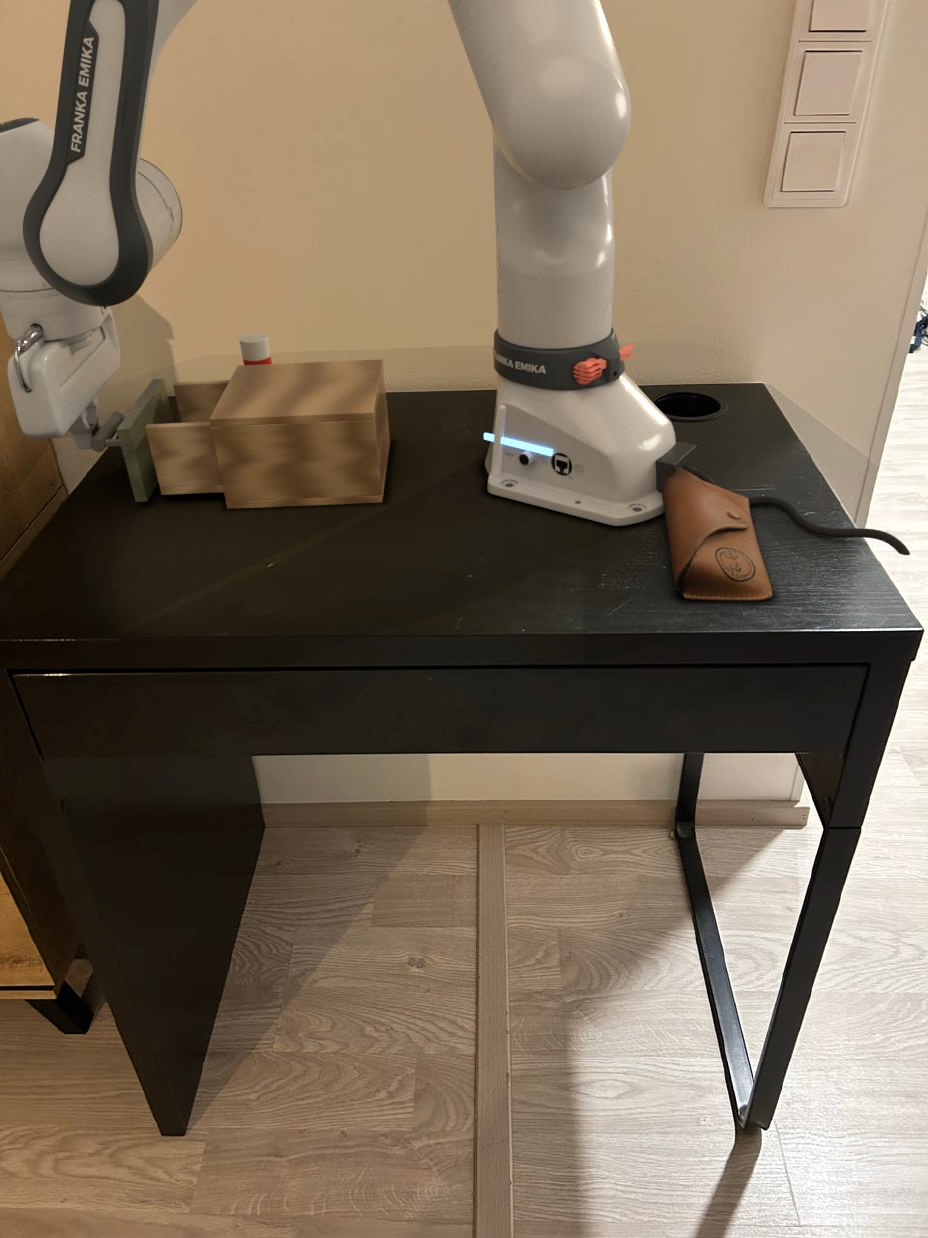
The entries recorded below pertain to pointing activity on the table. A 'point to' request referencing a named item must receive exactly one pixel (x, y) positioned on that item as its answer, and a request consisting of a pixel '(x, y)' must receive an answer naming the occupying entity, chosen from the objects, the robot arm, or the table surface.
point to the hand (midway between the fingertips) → (90, 443)
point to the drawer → (167, 440)
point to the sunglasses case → (712, 542)
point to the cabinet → (303, 434)
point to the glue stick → (255, 349)
